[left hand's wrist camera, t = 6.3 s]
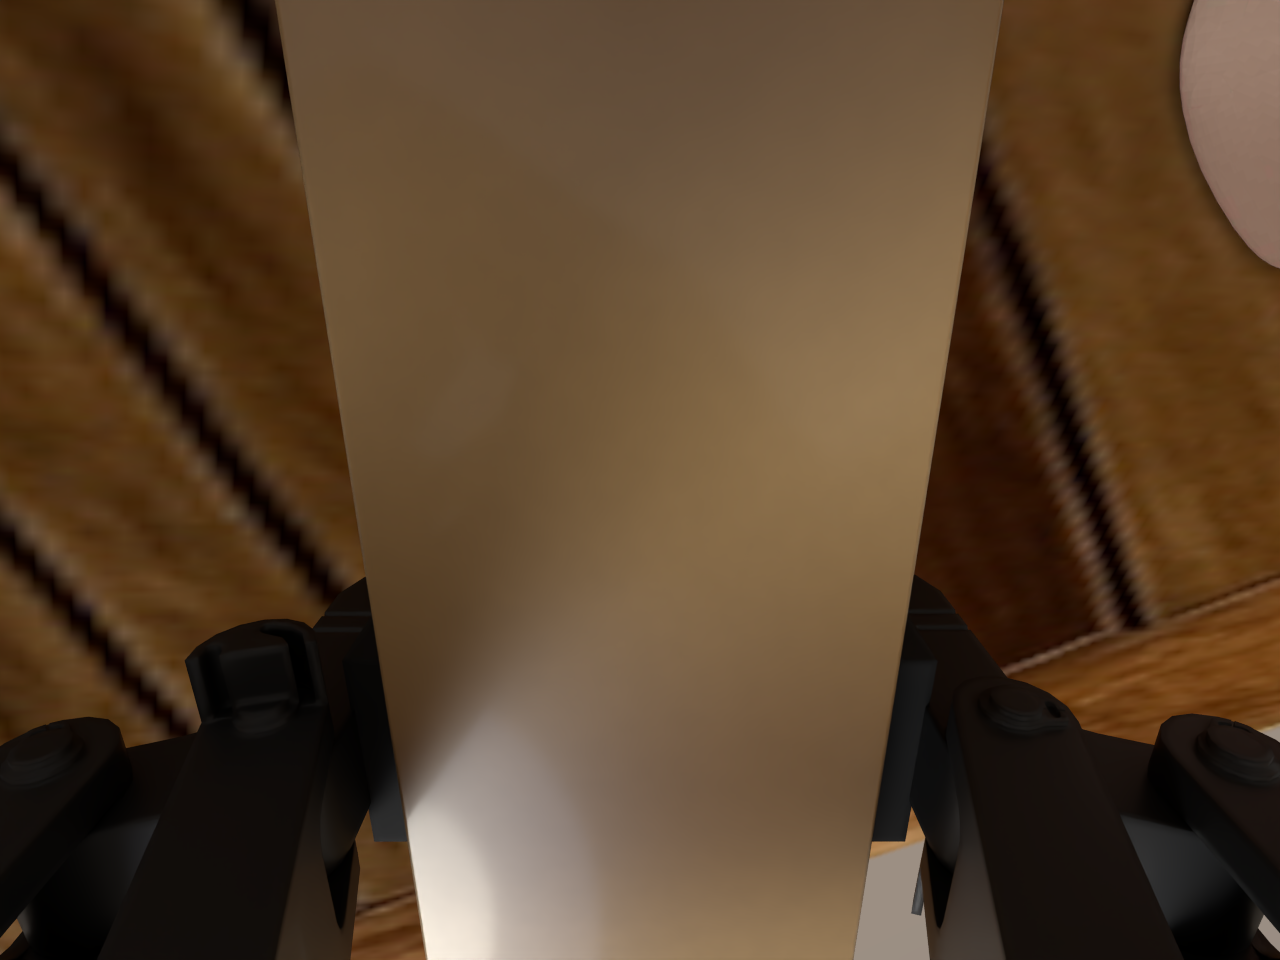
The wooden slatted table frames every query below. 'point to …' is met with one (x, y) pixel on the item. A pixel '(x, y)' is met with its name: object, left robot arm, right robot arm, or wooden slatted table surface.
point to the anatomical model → (1237, 112)
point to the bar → (639, 438)
